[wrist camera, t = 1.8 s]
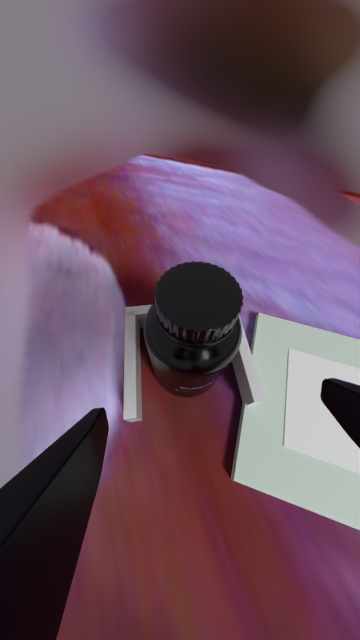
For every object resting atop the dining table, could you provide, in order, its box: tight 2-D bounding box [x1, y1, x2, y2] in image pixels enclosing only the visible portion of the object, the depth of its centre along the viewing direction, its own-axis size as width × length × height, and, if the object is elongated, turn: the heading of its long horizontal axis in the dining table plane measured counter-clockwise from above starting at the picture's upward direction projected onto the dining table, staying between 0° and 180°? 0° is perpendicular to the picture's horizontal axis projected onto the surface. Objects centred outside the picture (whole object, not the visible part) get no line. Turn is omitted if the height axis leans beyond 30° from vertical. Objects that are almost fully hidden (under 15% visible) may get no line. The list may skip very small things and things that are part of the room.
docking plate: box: [231, 313, 360, 530], centre depth 19 cm, size 16×16×1 cm
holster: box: [124, 305, 266, 422], centre depth 20 cm, size 10×12×3 cm
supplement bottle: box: [144, 261, 243, 397], centre depth 16 cm, size 7×7×12 cm
